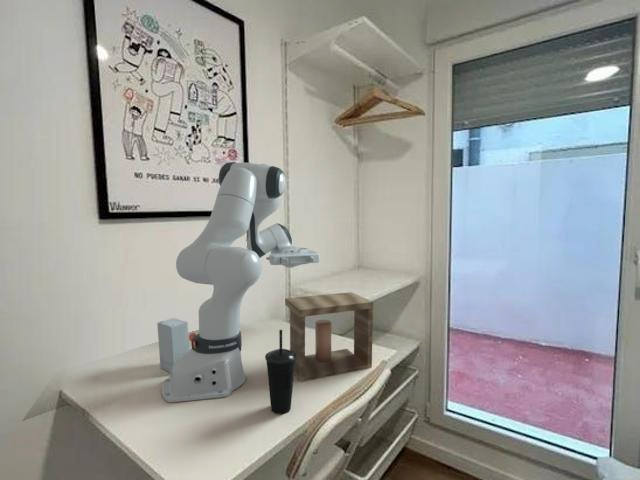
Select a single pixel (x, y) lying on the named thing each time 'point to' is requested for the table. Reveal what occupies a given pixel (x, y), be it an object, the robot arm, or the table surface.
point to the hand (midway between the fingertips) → (300, 261)
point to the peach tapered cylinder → (323, 340)
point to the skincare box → (172, 341)
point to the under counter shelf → (340, 359)
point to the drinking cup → (280, 377)
